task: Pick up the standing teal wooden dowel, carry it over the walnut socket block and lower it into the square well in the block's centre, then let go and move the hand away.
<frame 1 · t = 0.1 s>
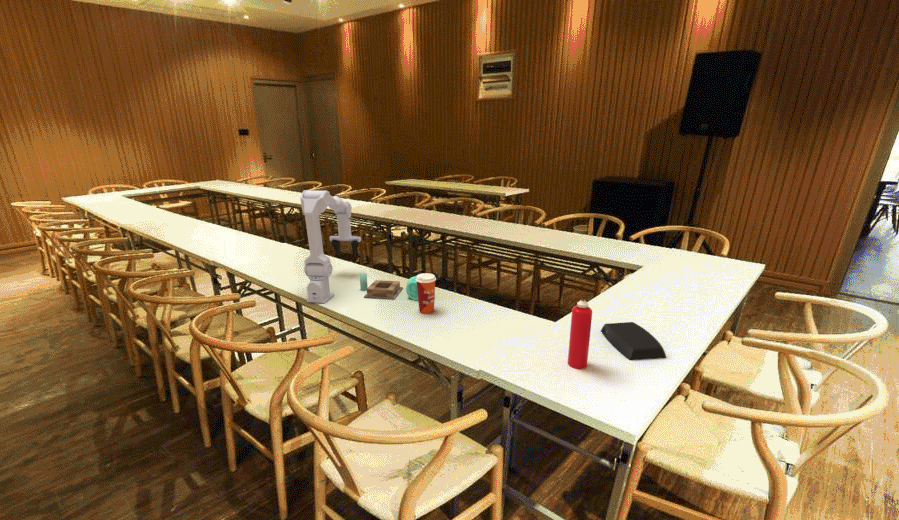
hand: (346, 255, 196), 10 cm above the table, tool pointing down, fingers open, 7 cm apart
socket: (384, 293, 178), on the table
external hard drive: (630, 345, 134), on the table
peg: (364, 289, 182), on the table
teal round piece: (419, 297, 173), on the table
bottle: (577, 364, 122), on the table
paper cup: (426, 311, 160), on the table
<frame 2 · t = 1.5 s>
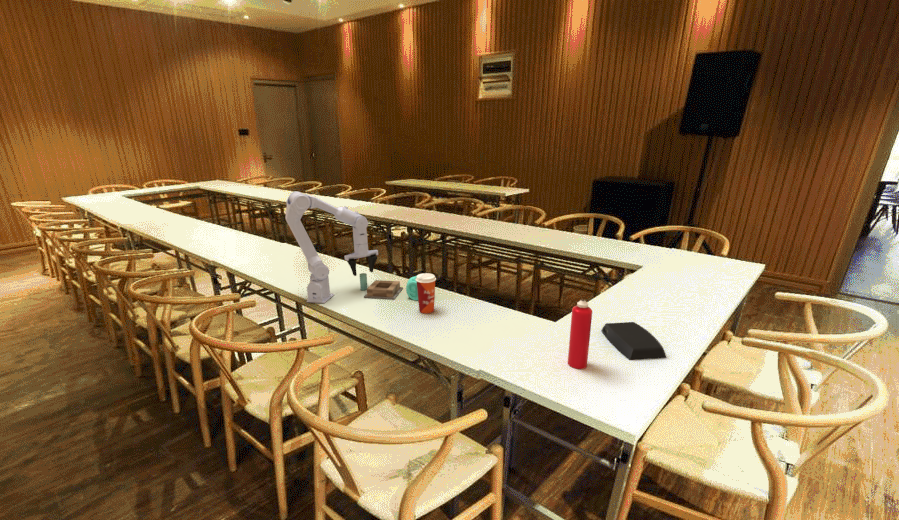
hand: (363, 273, 180), 7 cm above the table, tool pointing down, fingers open, 7 cm apart
nothing on the table moved.
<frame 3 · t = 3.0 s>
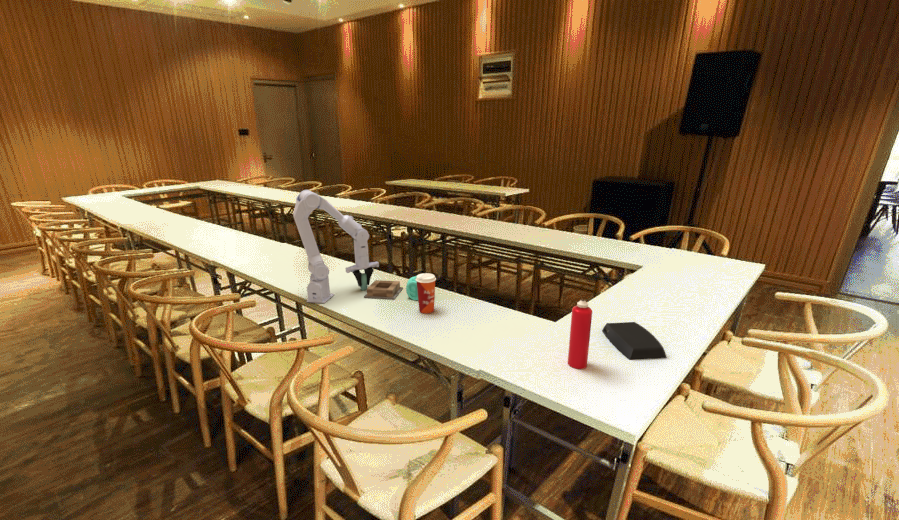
hand: (363, 285, 181), 2 cm above the table, tool pointing down, fingers closed on peg, 3 cm apart
peg: (364, 289, 182), on the table, touching gripper
everything else where it was.
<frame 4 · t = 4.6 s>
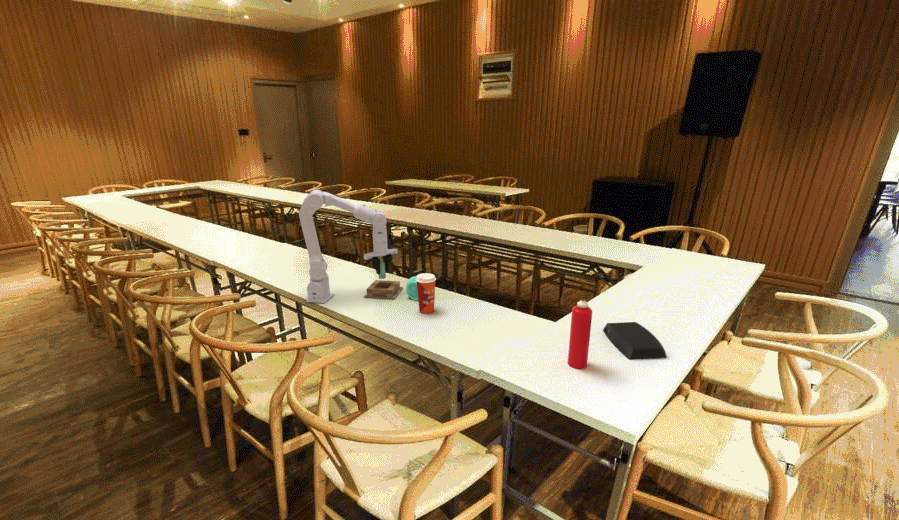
hand: (382, 273, 175), 9 cm above the table, tool pointing down, fingers closed on peg, 3 cm apart
peg: (382, 277, 176), point 7 cm above the table, touching gripper
everything else where it was.
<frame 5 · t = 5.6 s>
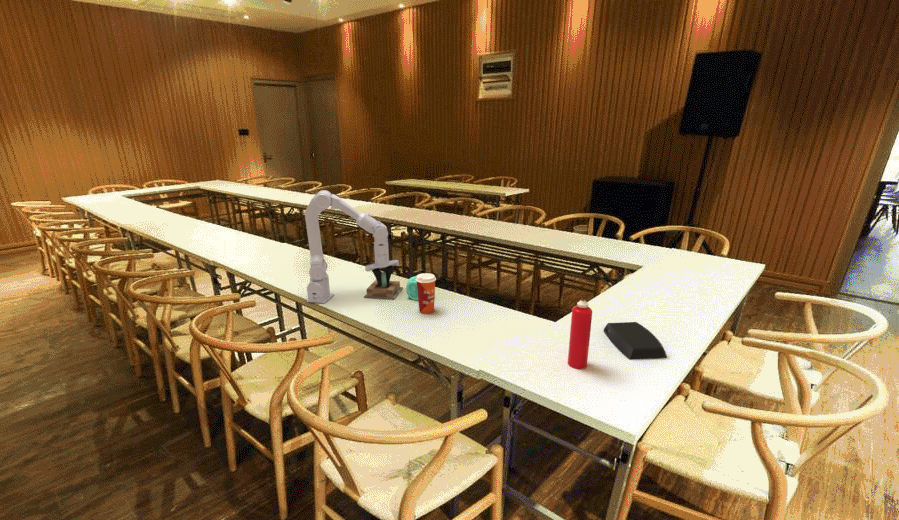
hand: (383, 284, 176), 4 cm above the table, tool pointing down, fingers closed on peg, 3 cm apart
peg: (383, 288, 177), point 2 cm above the table, touching gripper
everything else where it was.
when the fingers open (4 cm above the table, at t = 6.3 s): peg drops 1 cm, resting on socket.
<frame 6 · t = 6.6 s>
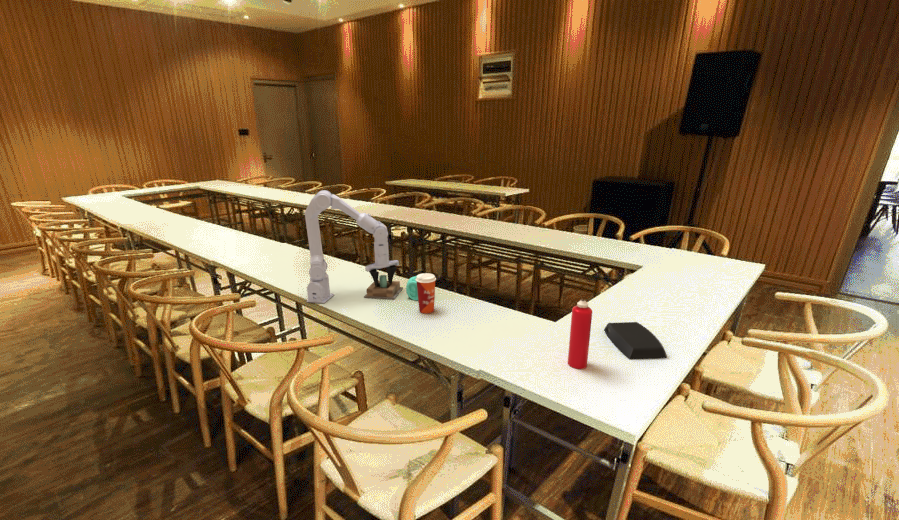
hand: (383, 284, 176), 4 cm above the table, tool pointing down, fingers open, 6 cm apart
peg: (383, 291, 178), point 1 cm above the table, touching socket
everything else where it was.
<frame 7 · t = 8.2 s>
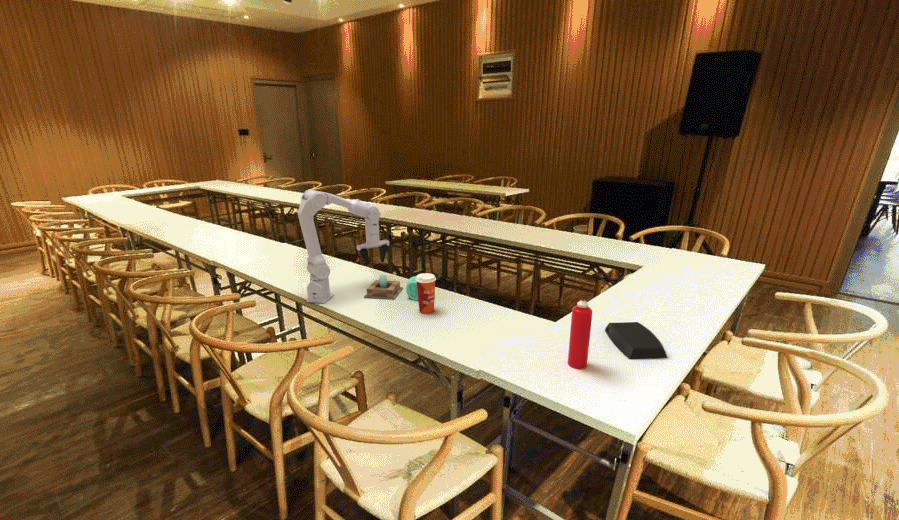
hand: (374, 263, 185), 10 cm above the table, tool pointing down, fingers open, 7 cm apart
nothing on the table moved.
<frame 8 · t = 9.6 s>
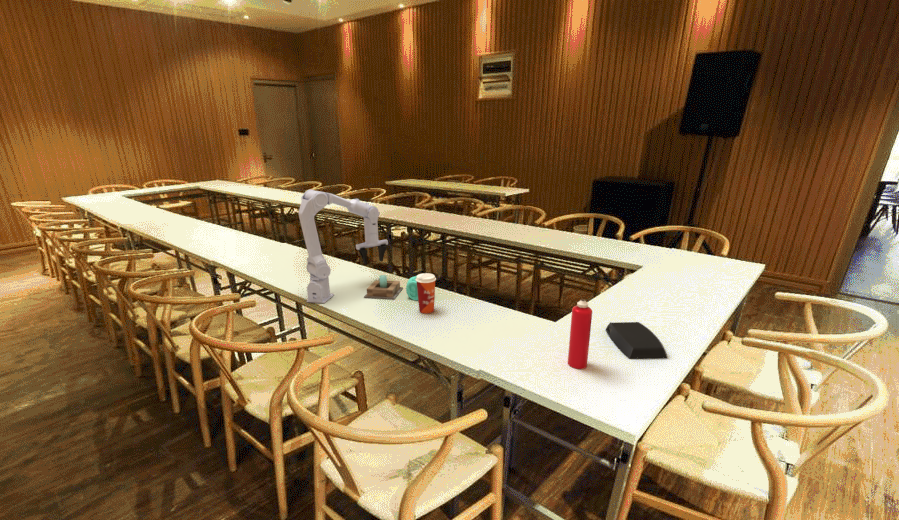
hand: (373, 262, 186), 10 cm above the table, tool pointing down, fingers open, 7 cm apart
at the end: peg 0.1 cm off-centre on the socket, point 0.6 cm above the socket's base; peg tilted 0°; the gripper is holding nothing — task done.
